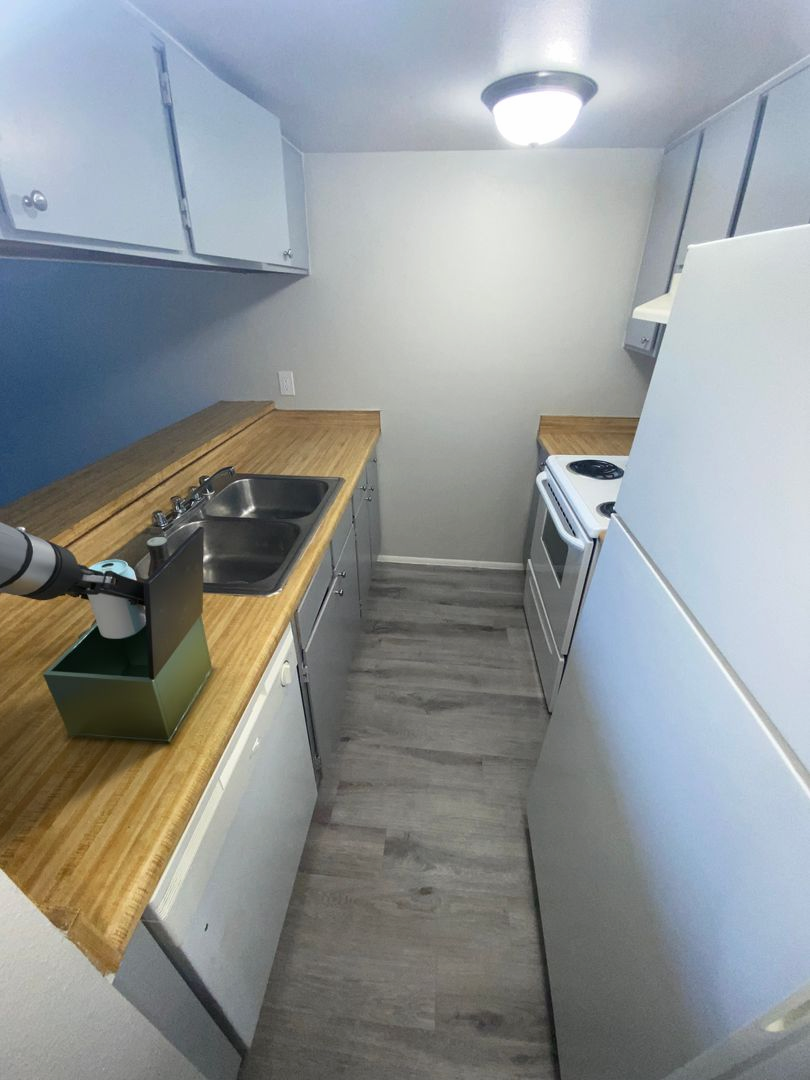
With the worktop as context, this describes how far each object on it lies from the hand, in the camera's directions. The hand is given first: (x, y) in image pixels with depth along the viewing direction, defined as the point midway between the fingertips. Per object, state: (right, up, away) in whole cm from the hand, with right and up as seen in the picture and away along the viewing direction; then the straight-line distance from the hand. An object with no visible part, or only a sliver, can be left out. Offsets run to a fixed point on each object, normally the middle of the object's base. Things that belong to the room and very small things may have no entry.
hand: (131, 598), depth 82 cm
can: (0, -5, -1) cm, 5 cm away
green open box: (-1, -20, +7) cm, 21 cm away
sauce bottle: (-8, -8, +30) cm, 32 cm away
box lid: (+10, 0, -5) cm, 11 cm away
